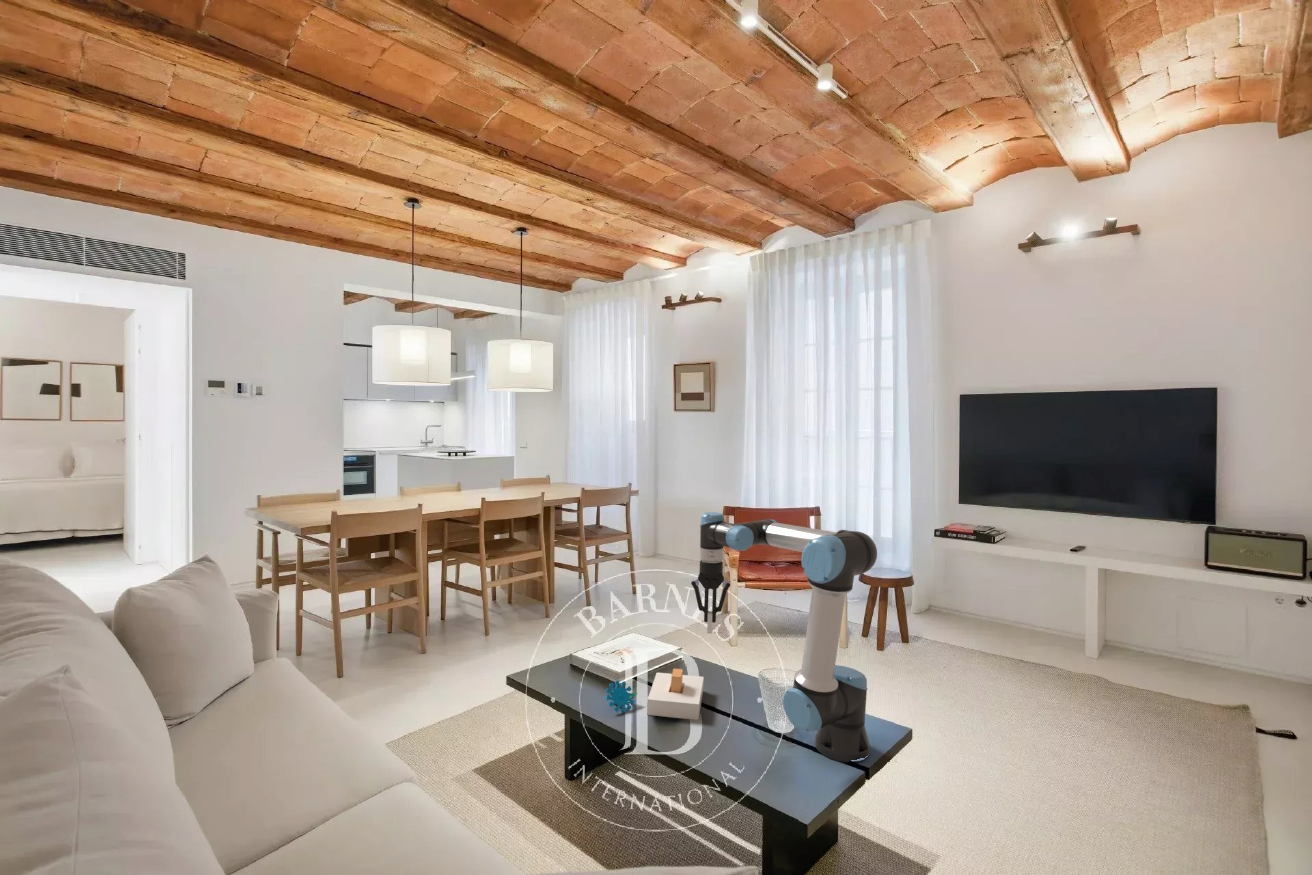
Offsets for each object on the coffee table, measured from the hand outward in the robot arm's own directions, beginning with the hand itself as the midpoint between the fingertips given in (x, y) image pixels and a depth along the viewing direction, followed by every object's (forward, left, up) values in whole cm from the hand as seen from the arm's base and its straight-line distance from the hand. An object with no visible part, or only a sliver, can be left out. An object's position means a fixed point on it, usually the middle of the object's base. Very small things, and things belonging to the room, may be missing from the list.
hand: (709, 631), depth 217 cm
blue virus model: (-11, +26, -23) cm, 37 cm away
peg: (-4, +10, -23) cm, 25 cm away
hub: (-4, +10, -23) cm, 25 cm away
